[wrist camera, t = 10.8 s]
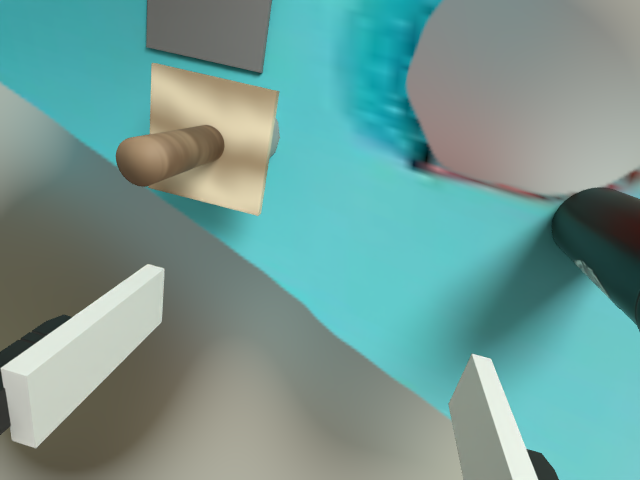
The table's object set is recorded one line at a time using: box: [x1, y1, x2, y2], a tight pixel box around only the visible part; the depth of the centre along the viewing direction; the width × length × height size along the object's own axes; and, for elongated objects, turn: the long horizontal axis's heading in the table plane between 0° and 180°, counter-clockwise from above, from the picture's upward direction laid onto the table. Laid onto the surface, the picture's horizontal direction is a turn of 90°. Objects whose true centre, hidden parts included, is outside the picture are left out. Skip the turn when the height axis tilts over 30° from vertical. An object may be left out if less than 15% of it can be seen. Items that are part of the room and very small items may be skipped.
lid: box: [116, 63, 279, 216], centre depth 32 cm, size 12×12×12 cm
